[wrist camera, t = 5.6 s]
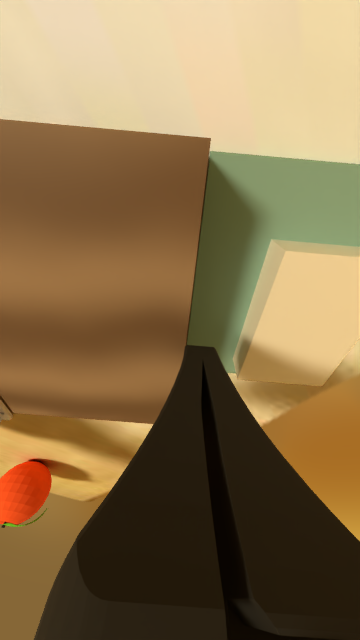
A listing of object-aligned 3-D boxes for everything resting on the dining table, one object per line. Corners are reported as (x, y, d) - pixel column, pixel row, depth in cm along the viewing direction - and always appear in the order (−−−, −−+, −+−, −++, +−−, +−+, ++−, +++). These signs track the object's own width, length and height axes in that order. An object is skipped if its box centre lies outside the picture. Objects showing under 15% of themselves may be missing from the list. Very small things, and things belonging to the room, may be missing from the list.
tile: (237, 379, 14) (232, 358, 16) (321, 386, 14) (308, 364, 16) (285, 251, 9) (271, 239, 11) (418, 262, 9) (384, 249, 11)
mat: (313, 376, 17) (314, 379, 17) (183, 366, 17) (183, 369, 17) (456, 173, 9) (464, 174, 9) (210, 151, 9) (210, 151, 9)
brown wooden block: (178, 381, 18) (176, 425, 15) (45, 370, 18) (13, 412, 15) (203, 151, 9) (210, 138, 6) (-71, 126, 9) (-223, 99, 6)
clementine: (75, 467, 32) (50, 532, 26) (51, 476, 35) (24, 536, 29) (27, 449, 29) (-15, 518, 23) (5, 459, 31) (-37, 524, 25)
